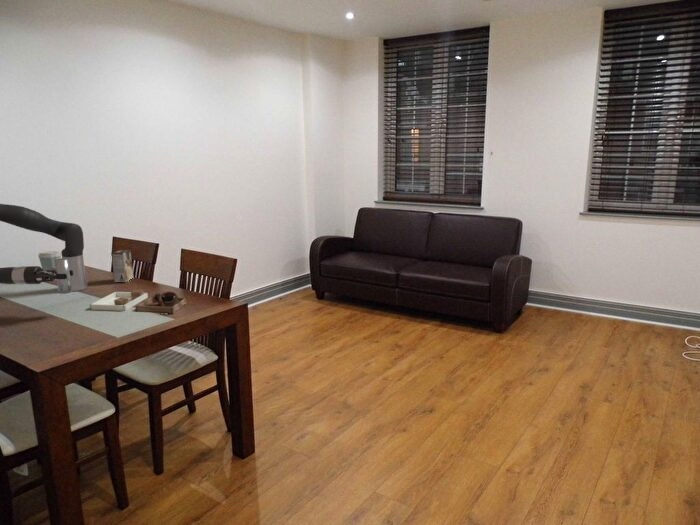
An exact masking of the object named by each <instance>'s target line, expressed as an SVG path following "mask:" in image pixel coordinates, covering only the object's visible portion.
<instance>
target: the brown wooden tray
mask: <svg viewBox="0 0 700 525" xmlns="http://www.w3.org/2000/svg"><path fill="white" fill-rule="evenodd" d="M173 299H175V296H174V298H173ZM177 299H178V300H179V302H178V303H177V304H176V305H174V306H172V307H161V306H157V305H156V306H153V305H151V306H149V305H150V304H152V303H153V302H156V303H158V302H157V301H156V300H155V299H154V296H150V297H148V298H146V299H145V300H143V301H141V302H140V303H138V304H136V305H135V311H136V312H155V313H157V312H158V313H174V312H175V311H176V310H178V309H179V308H180V307H182V306H183V305H184V304H186V303H187V304H188V298H187V297H179V298H177ZM182 308H183V307H182ZM178 311H179V310H178ZM175 313H176V312H175ZM175 313H174V314H175Z"/></svg>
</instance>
